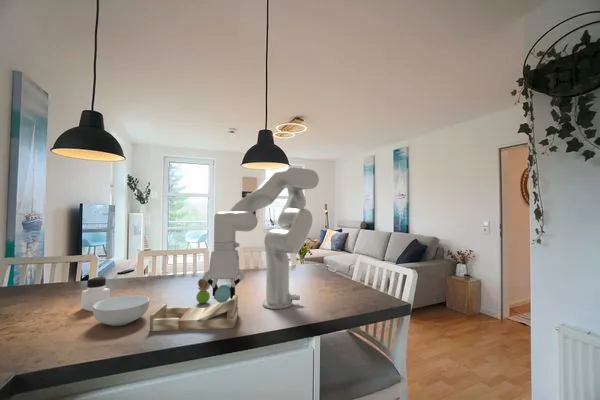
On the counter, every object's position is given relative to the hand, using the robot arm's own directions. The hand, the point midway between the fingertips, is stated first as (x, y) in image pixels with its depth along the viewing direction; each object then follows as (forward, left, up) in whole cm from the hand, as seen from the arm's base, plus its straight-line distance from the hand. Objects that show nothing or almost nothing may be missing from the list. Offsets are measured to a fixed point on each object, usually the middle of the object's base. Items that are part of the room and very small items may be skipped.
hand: (223, 297), depth 101 cm
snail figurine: (+12, -21, -9) cm, 25 cm away
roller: (0, 0, +2) cm, 2 cm away
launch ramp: (+9, 0, -8) cm, 12 cm away
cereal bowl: (+36, -3, -9) cm, 37 cm away
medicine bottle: (+54, -19, -9) cm, 57 cm away
